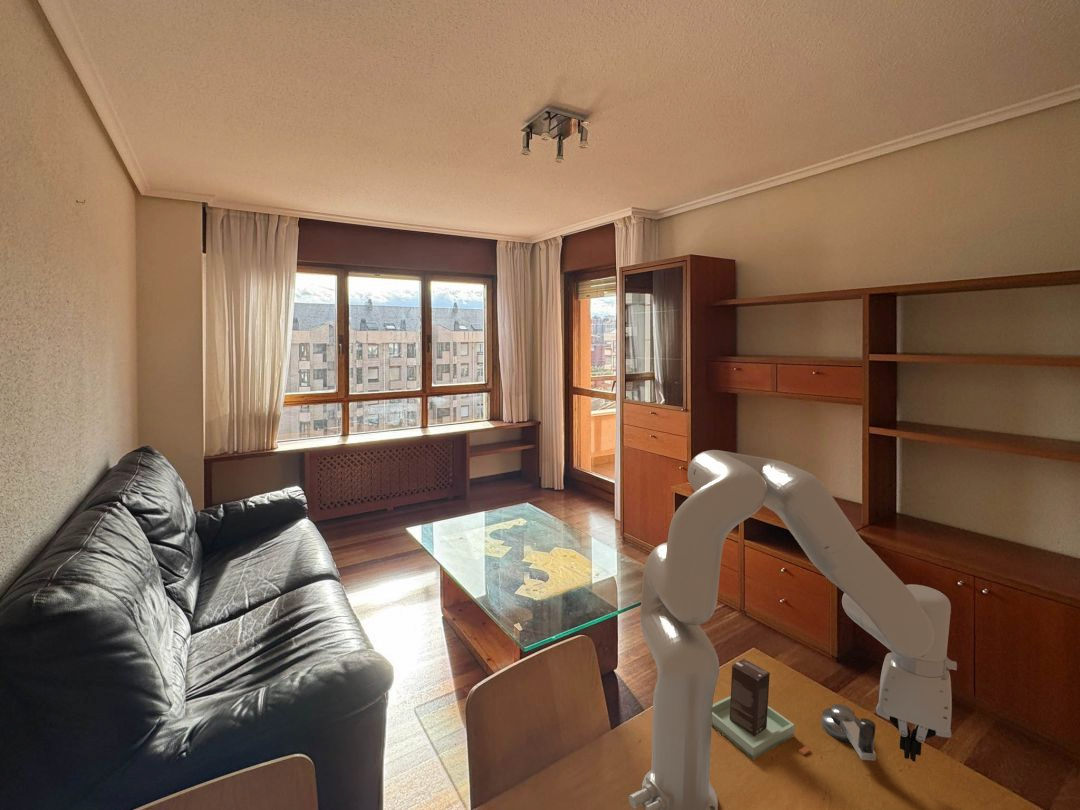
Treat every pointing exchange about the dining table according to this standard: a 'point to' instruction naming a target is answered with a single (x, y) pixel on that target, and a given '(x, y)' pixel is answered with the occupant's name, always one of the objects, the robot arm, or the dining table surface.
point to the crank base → (831, 729)
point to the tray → (745, 741)
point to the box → (749, 696)
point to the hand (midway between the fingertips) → (909, 754)
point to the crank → (856, 731)
